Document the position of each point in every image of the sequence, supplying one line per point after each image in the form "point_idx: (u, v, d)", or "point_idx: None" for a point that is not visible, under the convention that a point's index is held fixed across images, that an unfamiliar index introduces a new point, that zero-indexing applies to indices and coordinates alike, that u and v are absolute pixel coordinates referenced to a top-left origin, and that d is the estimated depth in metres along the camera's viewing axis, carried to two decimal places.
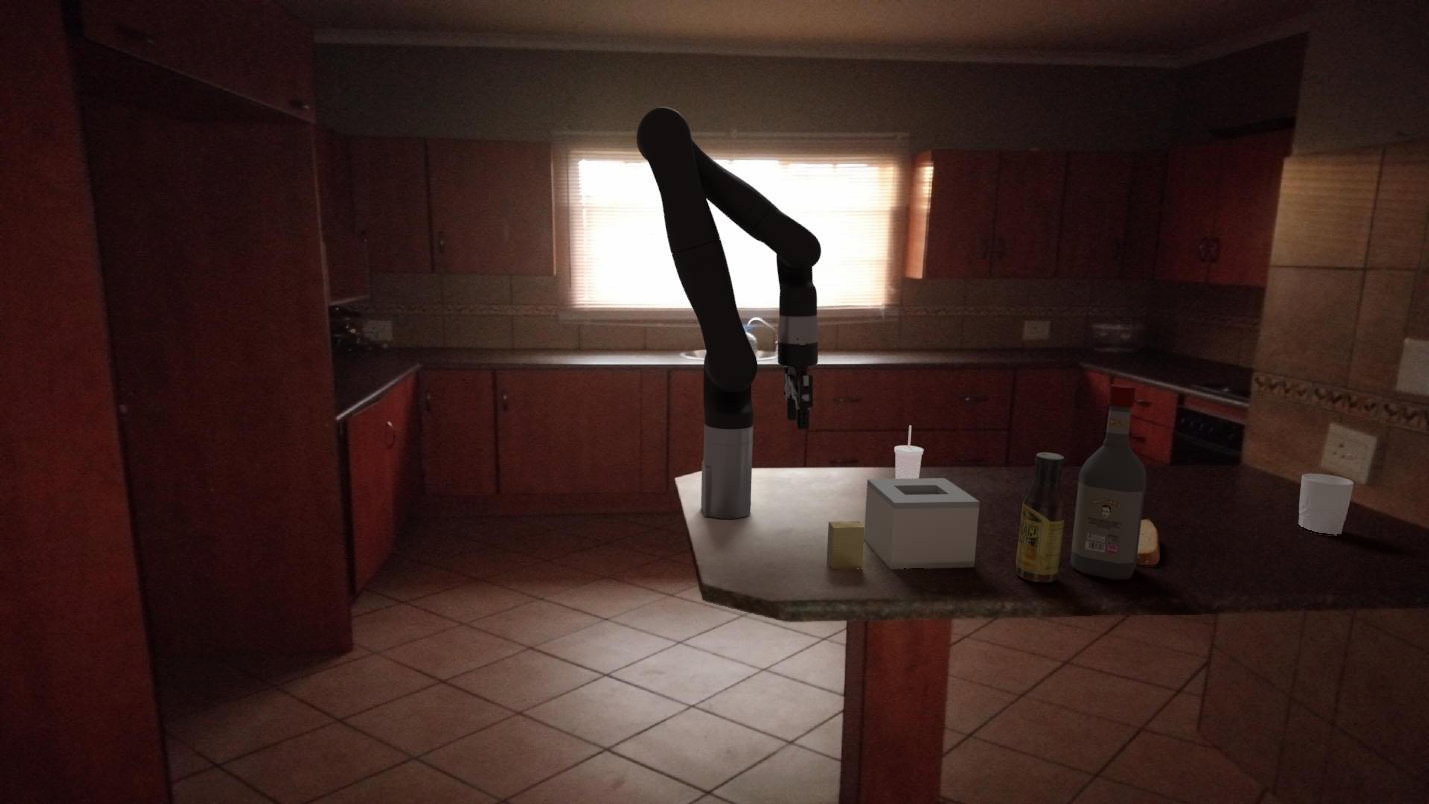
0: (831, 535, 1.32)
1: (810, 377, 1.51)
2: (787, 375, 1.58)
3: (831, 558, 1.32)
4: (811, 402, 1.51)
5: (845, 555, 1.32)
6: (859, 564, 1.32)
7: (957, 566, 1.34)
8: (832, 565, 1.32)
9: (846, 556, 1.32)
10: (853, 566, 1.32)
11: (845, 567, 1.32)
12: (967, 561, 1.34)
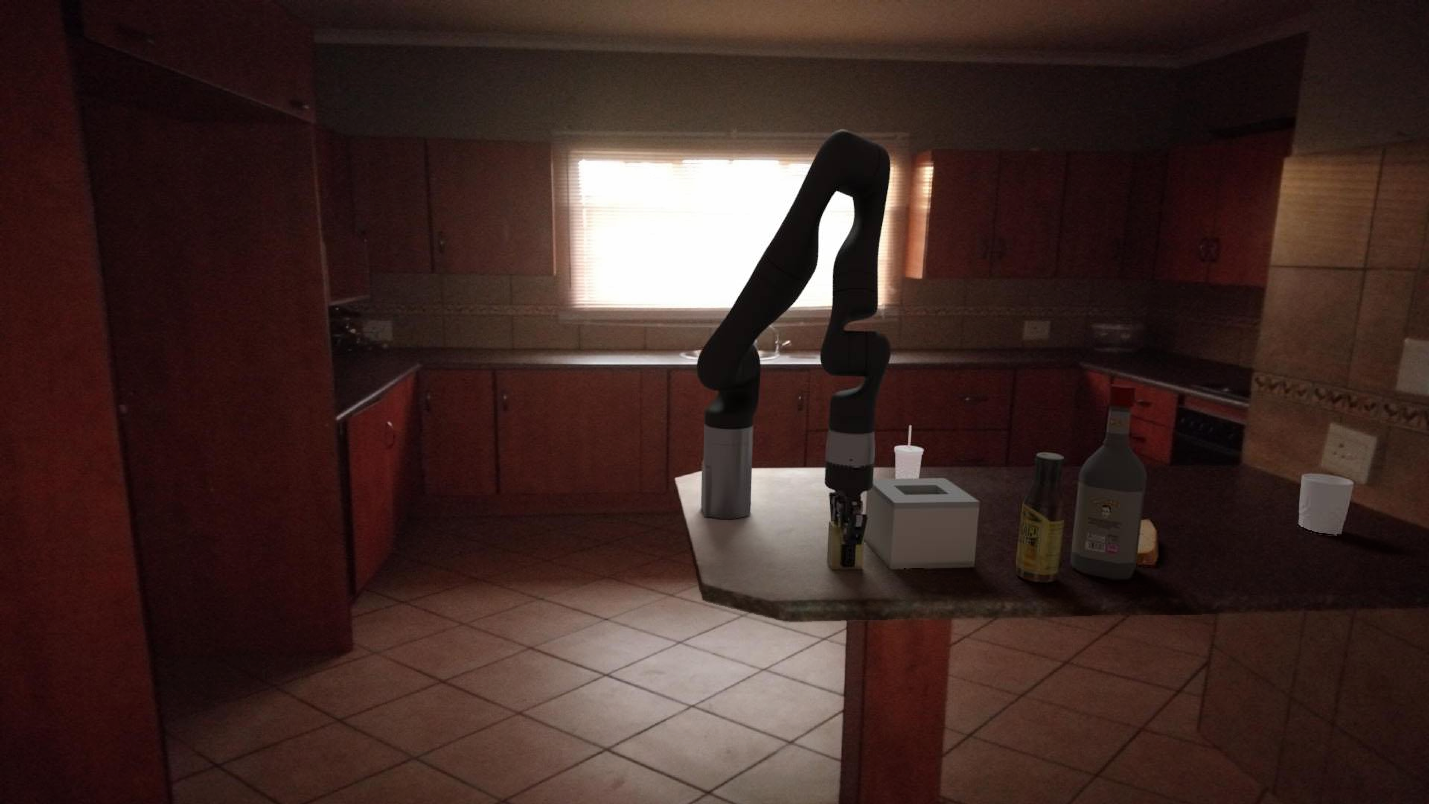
0: (831, 535, 1.32)
1: (865, 519, 1.26)
2: (834, 497, 1.33)
3: (831, 558, 1.32)
4: (860, 541, 1.28)
5: None
6: (859, 564, 1.32)
7: (957, 566, 1.34)
8: (832, 565, 1.32)
9: None
10: None
11: None
12: (967, 561, 1.34)
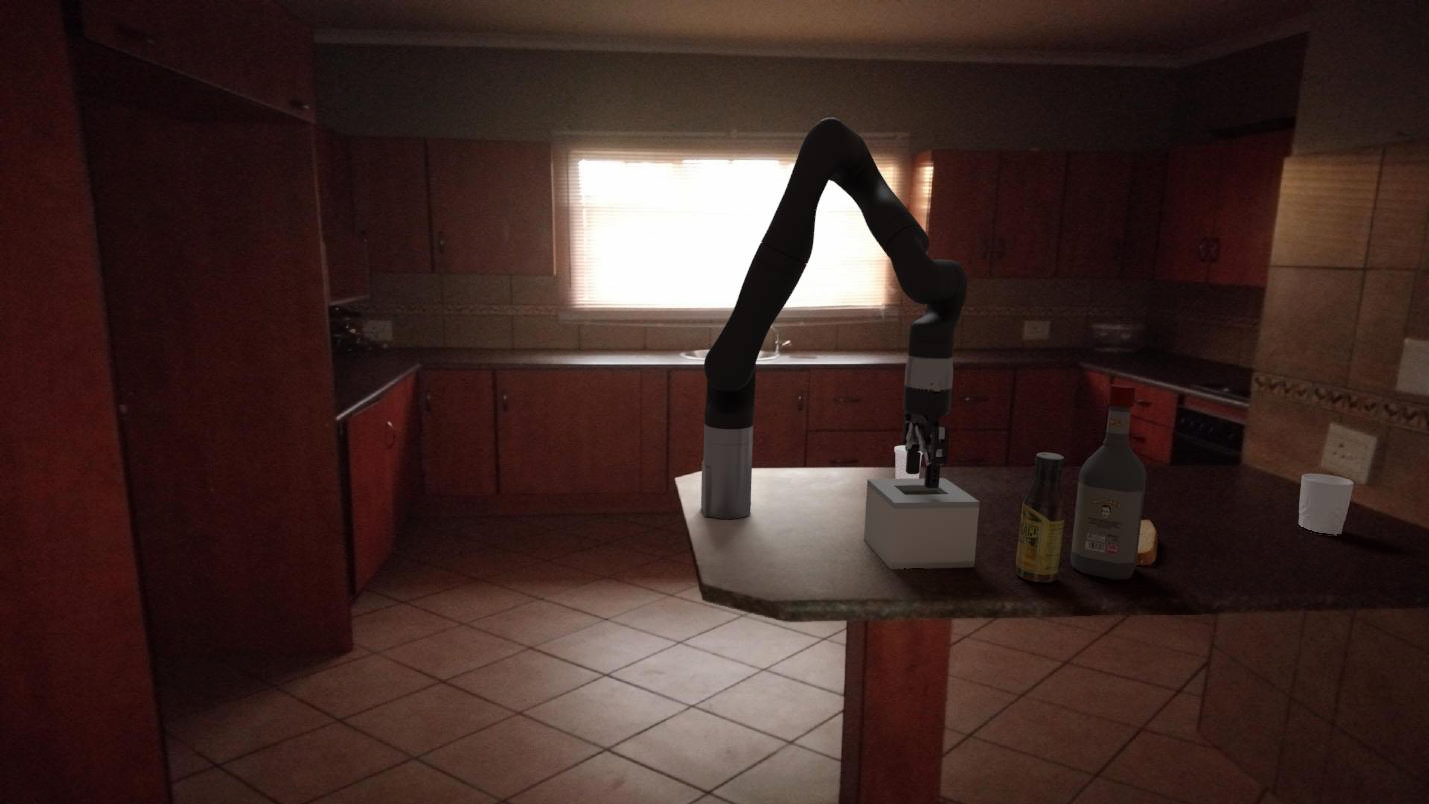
0: None
1: (947, 429, 1.30)
2: (913, 424, 1.37)
3: None
4: (946, 458, 1.30)
5: None
6: None
7: (957, 566, 1.34)
8: None
9: None
10: None
11: None
12: (967, 561, 1.34)
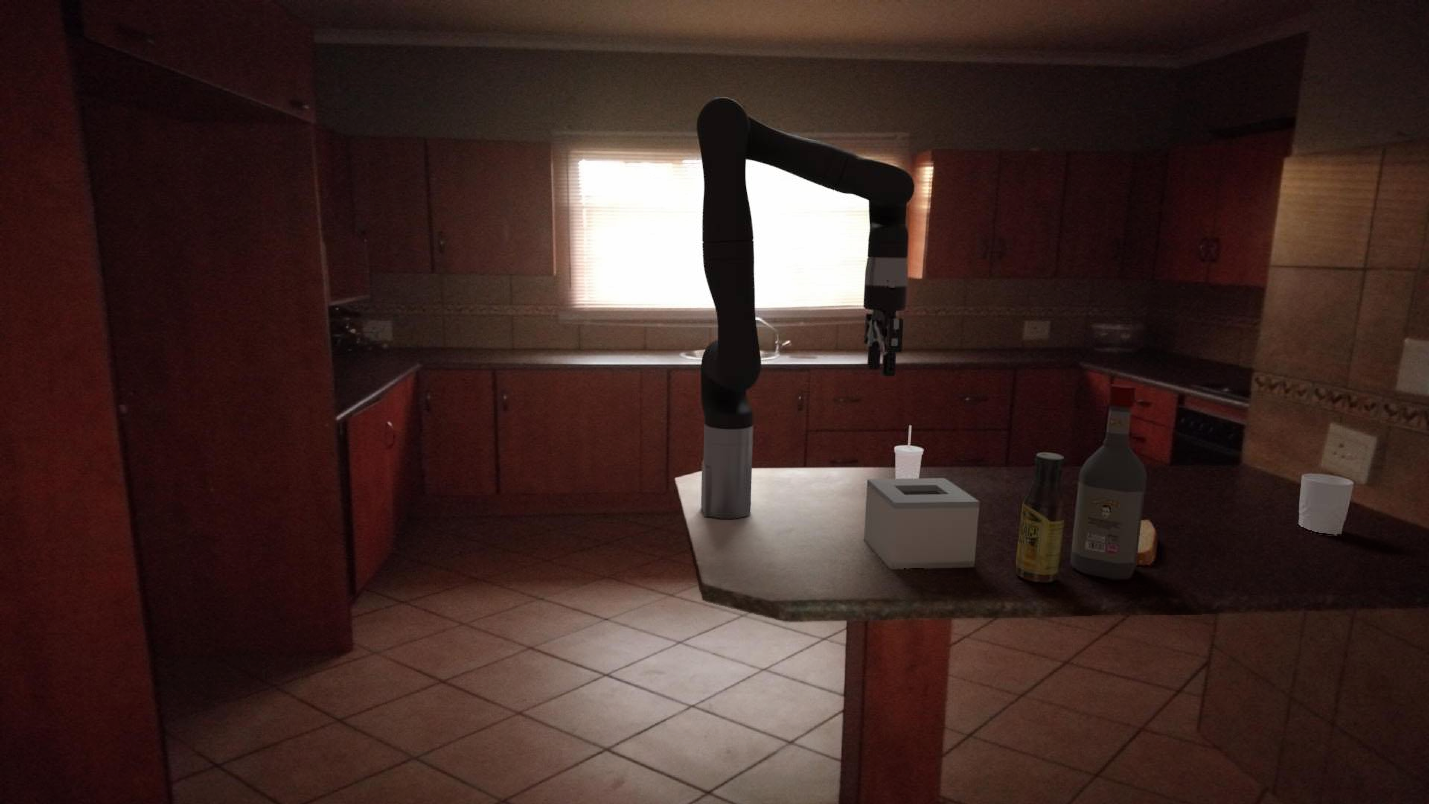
0: None
1: (901, 320, 1.45)
2: (872, 320, 1.52)
3: None
4: (900, 347, 1.45)
5: None
6: None
7: (957, 566, 1.34)
8: None
9: None
10: None
11: None
12: (967, 561, 1.34)
